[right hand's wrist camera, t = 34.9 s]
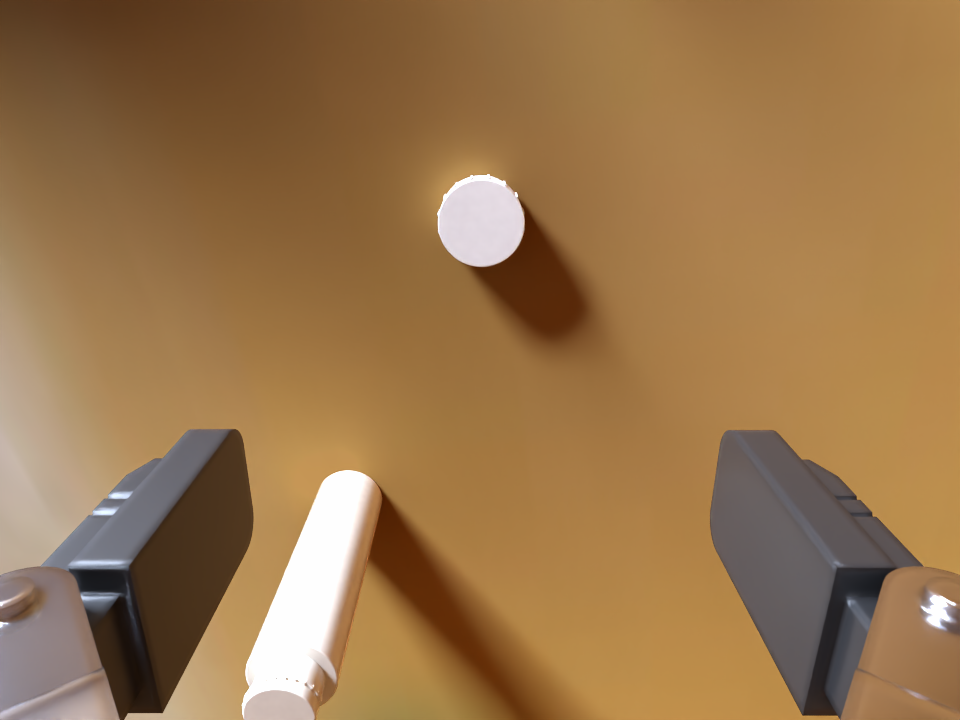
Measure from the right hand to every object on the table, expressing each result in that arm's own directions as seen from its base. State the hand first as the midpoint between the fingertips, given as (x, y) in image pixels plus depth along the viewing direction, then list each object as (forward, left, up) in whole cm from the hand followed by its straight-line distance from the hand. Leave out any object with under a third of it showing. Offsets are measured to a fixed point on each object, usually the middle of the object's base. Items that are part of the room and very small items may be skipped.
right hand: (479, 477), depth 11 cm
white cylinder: (-10, +17, -27) cm, 33 cm away
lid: (0, 0, -25) cm, 25 cm away
